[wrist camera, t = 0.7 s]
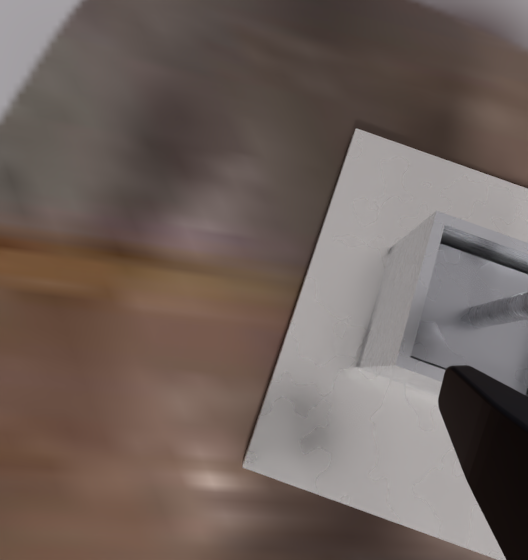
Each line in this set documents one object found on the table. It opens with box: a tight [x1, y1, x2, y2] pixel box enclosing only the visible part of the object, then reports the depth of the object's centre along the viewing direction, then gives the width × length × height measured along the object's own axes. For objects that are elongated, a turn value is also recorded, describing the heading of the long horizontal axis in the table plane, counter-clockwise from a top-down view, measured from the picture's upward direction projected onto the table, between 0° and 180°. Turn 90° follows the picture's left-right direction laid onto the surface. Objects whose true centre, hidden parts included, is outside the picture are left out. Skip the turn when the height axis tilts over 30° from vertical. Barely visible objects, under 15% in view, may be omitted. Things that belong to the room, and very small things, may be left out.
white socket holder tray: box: [242, 128, 528, 560], centre depth 20 cm, size 20×15×6 cm
